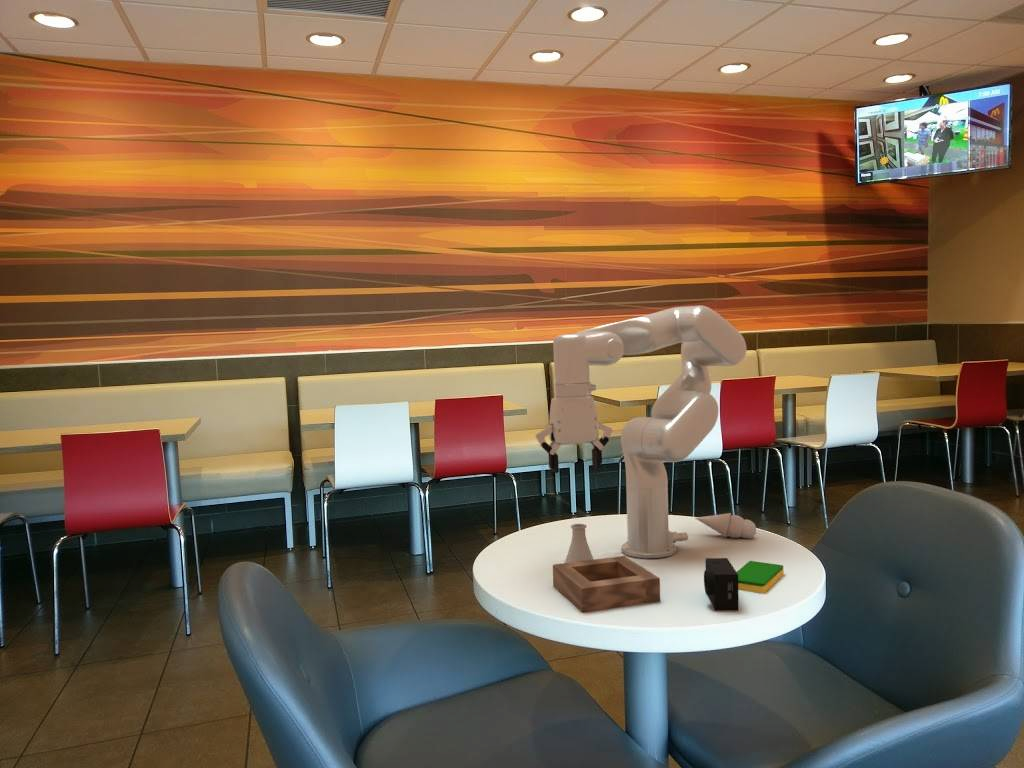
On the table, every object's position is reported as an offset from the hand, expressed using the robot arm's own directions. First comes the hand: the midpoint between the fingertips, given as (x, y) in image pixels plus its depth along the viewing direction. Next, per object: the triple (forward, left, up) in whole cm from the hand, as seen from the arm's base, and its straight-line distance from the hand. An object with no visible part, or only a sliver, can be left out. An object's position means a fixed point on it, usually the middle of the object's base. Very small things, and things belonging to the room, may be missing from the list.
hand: (575, 469), depth 166 cm
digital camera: (-17, +28, -23) cm, 40 cm away
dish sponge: (-31, +21, -23) cm, 44 cm away
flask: (0, 0, -22) cm, 22 cm away
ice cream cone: (-43, -11, -22) cm, 50 cm away
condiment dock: (+1, +16, -22) cm, 27 cm away
